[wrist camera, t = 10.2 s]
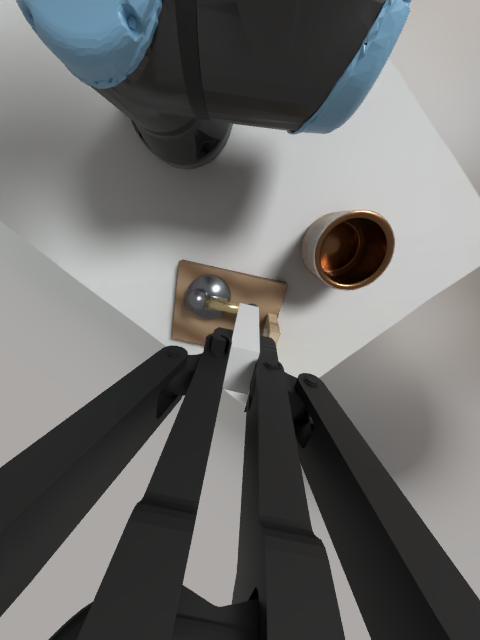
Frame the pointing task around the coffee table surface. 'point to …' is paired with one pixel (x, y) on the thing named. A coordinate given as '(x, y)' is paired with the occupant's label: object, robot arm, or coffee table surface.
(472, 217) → the coffee table surface
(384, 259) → the planter
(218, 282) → the ball knob lever
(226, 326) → the stand
